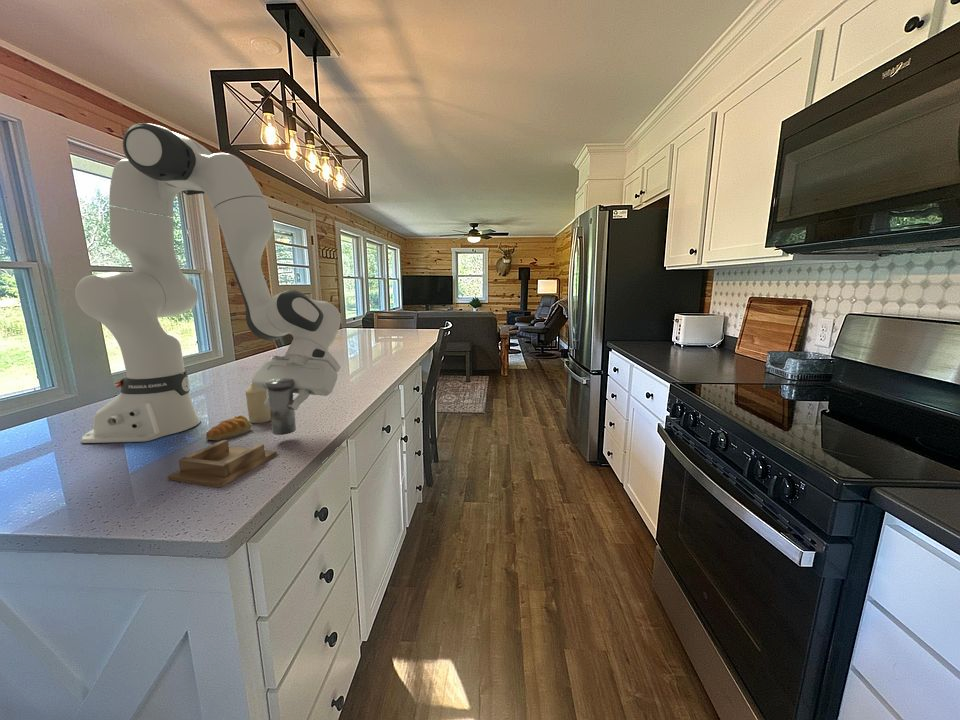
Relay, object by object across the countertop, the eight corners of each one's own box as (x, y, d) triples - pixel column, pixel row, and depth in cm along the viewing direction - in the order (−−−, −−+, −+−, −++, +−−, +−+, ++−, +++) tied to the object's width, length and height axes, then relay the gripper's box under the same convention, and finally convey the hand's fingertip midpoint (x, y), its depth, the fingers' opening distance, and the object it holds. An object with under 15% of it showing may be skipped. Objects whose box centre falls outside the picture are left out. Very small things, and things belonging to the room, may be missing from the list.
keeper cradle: (220, 487, 69) (218, 470, 68) (168, 480, 72) (165, 463, 71) (277, 454, 82) (275, 440, 82) (231, 449, 85) (229, 435, 84)
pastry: (219, 444, 88) (217, 428, 87) (198, 440, 90) (196, 425, 89) (254, 430, 97) (252, 415, 96) (235, 427, 99) (233, 413, 98)
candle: (262, 424, 100) (257, 387, 98) (244, 422, 101) (239, 386, 99) (277, 417, 105) (273, 382, 103) (260, 415, 106) (255, 381, 104)
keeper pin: (267, 436, 86) (262, 385, 83) (273, 427, 91) (269, 378, 89) (295, 434, 87) (290, 384, 85) (299, 425, 93) (296, 377, 90)
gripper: (262, 348, 94) (233, 397, 87) (335, 353, 90) (311, 404, 83) (276, 362, 100) (250, 409, 92) (346, 367, 95) (325, 417, 88)
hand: (280, 407), depth 87 cm, fingers closed on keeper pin, 5 cm apart
